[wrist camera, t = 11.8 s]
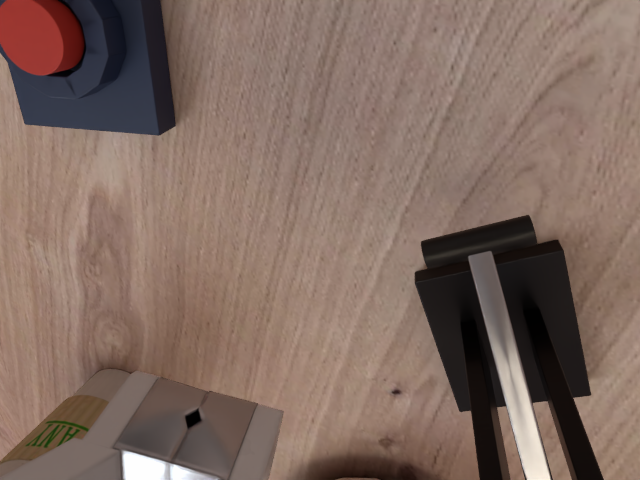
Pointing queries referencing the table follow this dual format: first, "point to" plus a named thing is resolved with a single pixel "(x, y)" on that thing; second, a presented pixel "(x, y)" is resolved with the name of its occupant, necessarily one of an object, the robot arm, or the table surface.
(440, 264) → the lever
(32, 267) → the table surface
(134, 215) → the table surface
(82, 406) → the coffee cup
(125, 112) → the control block
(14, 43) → the button
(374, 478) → the candle holder
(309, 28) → the table surface
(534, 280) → the bracket
